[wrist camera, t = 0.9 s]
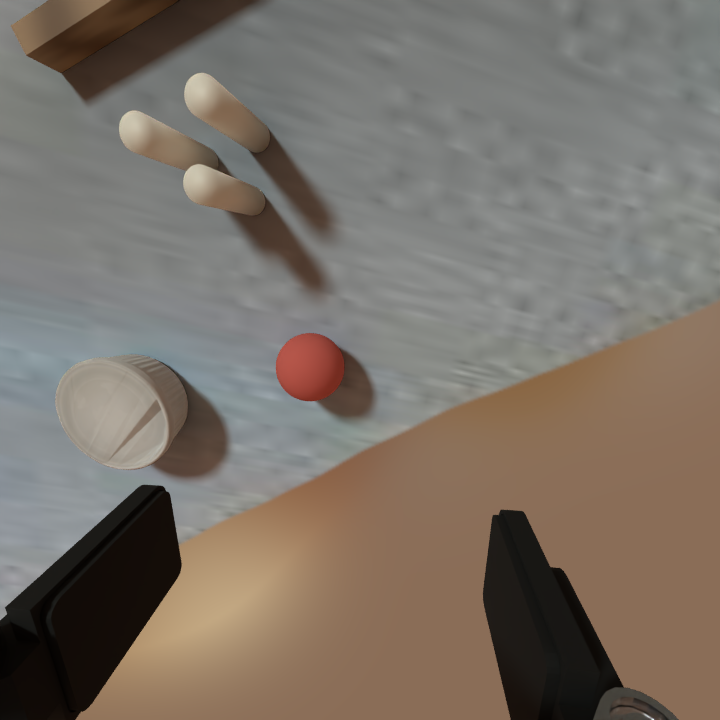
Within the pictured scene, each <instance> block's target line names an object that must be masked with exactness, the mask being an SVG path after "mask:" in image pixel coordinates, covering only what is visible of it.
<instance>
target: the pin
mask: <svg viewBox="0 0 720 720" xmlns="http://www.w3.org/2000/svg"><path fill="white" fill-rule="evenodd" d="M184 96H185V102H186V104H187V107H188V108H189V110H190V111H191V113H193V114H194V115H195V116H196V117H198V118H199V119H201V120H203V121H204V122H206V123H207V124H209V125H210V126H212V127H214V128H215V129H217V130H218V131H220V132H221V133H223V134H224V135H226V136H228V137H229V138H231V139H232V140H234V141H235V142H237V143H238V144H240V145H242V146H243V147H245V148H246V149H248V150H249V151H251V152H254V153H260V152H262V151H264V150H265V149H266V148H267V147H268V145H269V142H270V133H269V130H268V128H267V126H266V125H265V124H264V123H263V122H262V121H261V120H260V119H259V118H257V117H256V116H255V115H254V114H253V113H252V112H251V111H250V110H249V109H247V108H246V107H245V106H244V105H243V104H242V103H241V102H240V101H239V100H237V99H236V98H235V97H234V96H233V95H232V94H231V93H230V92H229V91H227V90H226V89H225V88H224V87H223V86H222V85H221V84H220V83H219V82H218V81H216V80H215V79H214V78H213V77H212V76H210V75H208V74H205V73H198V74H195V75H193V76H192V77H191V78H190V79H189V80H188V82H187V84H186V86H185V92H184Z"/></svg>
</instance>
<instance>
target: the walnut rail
mask: <svg viewBox="0 0 720 720" xmlns="http://www.w3.org/2000/svg"><path fill="white" fill-rule="evenodd" d="M177 1H179V0H48V1H47V2H45V3H44V4H43V5H41V6H40V7H38V8H37V9H35V10H34V11H32V12H31V13H29V14H28V15H26V16H25V17H23V18H22V19H20V20H19V21H17V22H16V23H14V24H13V25H11V27H12V29H13V31H14V33H15V35H16V37H17V39H18V41H19V42H20V44H21V46H22V48H23V50H24V52H25V54H26V55H27V56H28V57H30V58H32V59H34V60H36V61H38V62H40V63H42V64H44V65H46V66H48V67H50V68H52V69H54V70H56V71H58V72H60V73H62V72H64V71H65V70H67V69H69V68H70V67H72V66H74V65H75V64H77V63H78V62H80V61H82V60H83V59H85V58H87V57H88V56H90V55H91V54H93V53H95V52H96V51H98V50H99V49H101V48H103V47H104V46H106V45H108V44H109V43H111V42H112V41H114V40H116V39H117V38H119V37H121V36H122V35H124V34H125V33H127V32H129V31H130V30H132V29H134V28H135V27H137V26H138V25H140V24H142V23H143V22H145V21H147V20H148V19H150V18H151V17H153V16H155V15H156V14H158V13H160V12H161V11H163V10H164V9H166V8H168V7H169V6H171V5H172V4H174V3H176V2H177Z"/></svg>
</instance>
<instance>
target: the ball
mask: <svg viewBox="0 0 720 720" xmlns="http://www.w3.org/2000/svg"><path fill="white" fill-rule="evenodd" d="M344 368H345V367H344V359H343V356H342V353H341V351H340V349H339V348H338V347H337V345H336V344H335V343H334V342H333V341H331V340H330V339H329V338H327V337H325V336H323V335H320V334H314V333H306V334H301V335H298V336H296V337H294V338H292V339H290V340H289V341H288V342H287V343H286V344H285V345H284V346H283V347H282V349H281V350H280V352H279V354H278V357H277V361H276V374H277V378H278V380H279V382H280V384H281V386H282V387H283V389H284V390H285V391H286V392H287V393H288V394H290V395H291V396H293V397H295V398H297V399H299V400H303V401H317V400H321V399H324V398H326V397H328V396H329V395H331V394H332V393H333V392H334V391H335V390H336V389H337V388H338V386H339V385H340V383H341V381H342V379H343V375H344Z"/></svg>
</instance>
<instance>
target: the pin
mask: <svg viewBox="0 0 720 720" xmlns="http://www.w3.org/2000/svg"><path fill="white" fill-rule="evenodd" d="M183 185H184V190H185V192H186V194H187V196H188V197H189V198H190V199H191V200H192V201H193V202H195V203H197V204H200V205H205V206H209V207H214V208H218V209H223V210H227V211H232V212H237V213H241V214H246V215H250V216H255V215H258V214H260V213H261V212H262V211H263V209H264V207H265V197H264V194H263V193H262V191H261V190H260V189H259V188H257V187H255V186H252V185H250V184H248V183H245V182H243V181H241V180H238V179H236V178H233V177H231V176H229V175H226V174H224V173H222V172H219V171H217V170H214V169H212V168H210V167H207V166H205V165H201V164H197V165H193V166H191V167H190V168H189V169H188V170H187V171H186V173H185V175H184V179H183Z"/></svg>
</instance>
